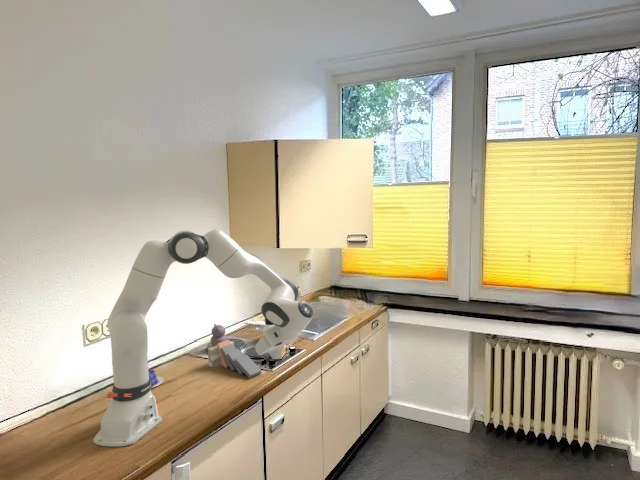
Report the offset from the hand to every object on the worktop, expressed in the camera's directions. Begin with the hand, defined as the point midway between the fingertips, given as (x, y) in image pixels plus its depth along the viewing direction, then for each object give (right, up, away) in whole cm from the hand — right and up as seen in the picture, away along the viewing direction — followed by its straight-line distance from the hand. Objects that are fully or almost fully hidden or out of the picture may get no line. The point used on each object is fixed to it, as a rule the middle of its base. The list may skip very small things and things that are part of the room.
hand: (269, 350), depth 179 cm
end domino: (-19, -11, +19) cm, 29 cm away
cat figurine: (-29, -9, +40) cm, 50 cm away
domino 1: (-15, -11, +15) cm, 25 cm away
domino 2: (-11, -12, +12) cm, 20 cm away
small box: (+1, -10, +28) cm, 30 cm away
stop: (-24, -11, +23) cm, 35 cm away
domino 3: (-7, -12, +8) cm, 16 cm away
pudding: (-50, -15, +4) cm, 53 cm away
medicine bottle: (-5, -7, +51) cm, 51 cm away
